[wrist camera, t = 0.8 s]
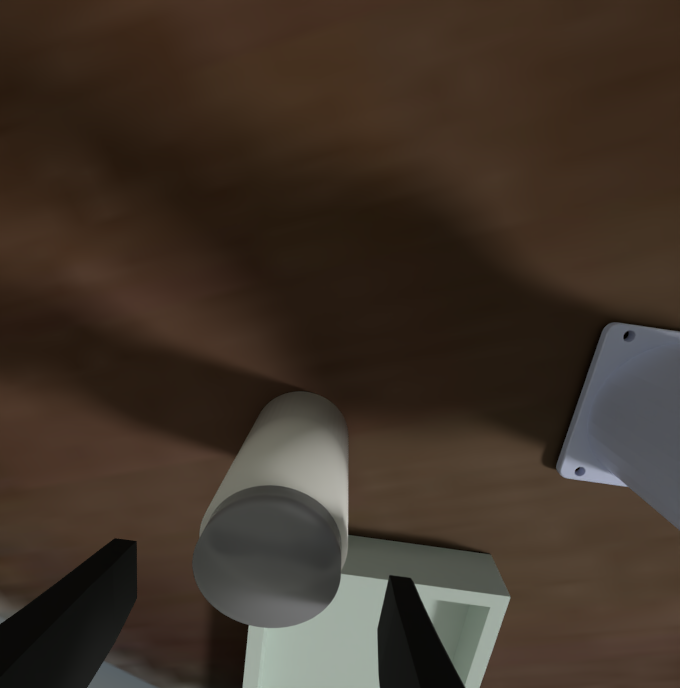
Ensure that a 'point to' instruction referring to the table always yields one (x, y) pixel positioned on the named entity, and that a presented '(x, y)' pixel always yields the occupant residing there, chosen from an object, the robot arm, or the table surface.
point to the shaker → (279, 517)
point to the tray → (364, 613)
